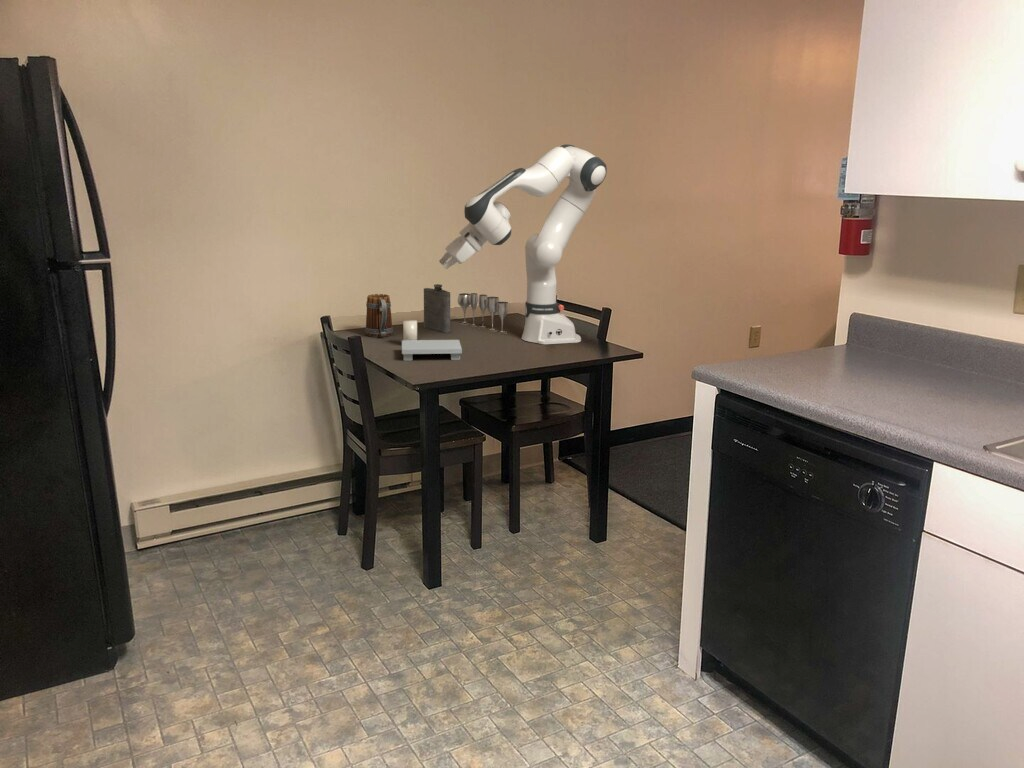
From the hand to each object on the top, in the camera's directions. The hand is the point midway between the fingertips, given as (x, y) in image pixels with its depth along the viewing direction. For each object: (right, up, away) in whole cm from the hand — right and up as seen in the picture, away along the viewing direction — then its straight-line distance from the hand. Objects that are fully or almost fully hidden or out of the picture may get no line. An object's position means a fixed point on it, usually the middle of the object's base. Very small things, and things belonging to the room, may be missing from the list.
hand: (442, 265), depth 285 cm
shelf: (-3, -32, -7) cm, 33 cm away
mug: (-25, -24, +21) cm, 41 cm away
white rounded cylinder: (-12, -28, +7) cm, 31 cm away
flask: (-5, -21, +33) cm, 40 cm away
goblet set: (+13, -19, +40) cm, 46 cm away
